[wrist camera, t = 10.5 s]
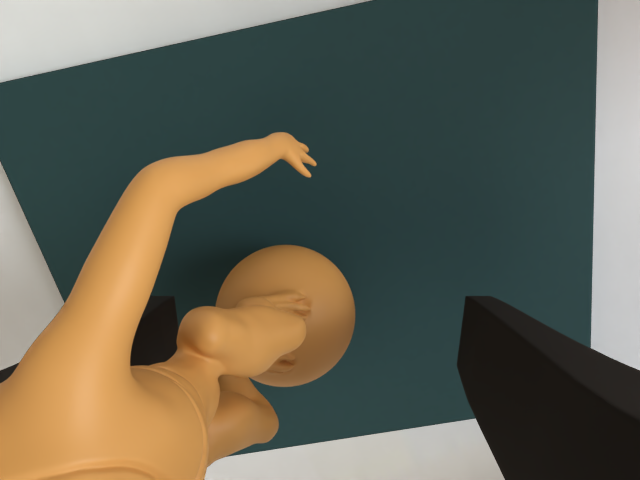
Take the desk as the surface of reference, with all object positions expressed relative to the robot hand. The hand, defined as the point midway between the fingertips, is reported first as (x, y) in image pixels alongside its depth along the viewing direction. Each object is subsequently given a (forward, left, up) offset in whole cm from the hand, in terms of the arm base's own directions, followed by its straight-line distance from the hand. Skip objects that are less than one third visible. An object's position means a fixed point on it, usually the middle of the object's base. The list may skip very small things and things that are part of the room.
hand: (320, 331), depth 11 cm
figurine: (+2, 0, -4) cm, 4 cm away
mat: (0, 0, -5) cm, 5 cm away
